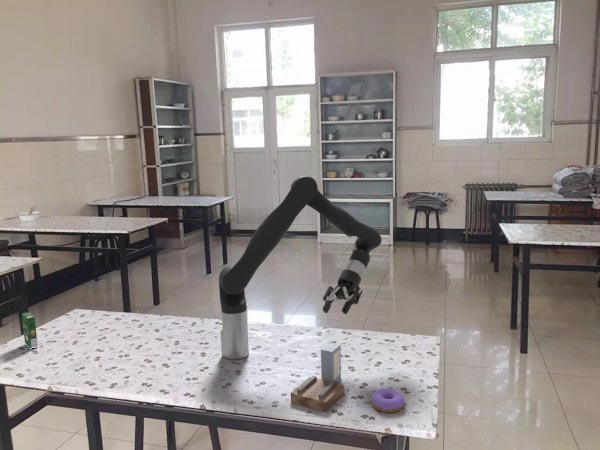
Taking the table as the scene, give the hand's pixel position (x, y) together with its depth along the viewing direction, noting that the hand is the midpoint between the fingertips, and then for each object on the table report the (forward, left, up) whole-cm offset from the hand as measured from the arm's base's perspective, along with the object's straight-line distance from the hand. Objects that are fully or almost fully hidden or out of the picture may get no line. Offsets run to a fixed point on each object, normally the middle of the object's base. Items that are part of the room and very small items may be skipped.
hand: (334, 312), depth 172 cm
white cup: (-50, +25, -20) cm, 59 cm away
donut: (+22, -21, -20) cm, 37 cm away
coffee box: (-121, -17, -20) cm, 123 cm away
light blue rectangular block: (+2, -12, -19) cm, 23 cm away
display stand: (+1, -23, -19) cm, 30 cm away
